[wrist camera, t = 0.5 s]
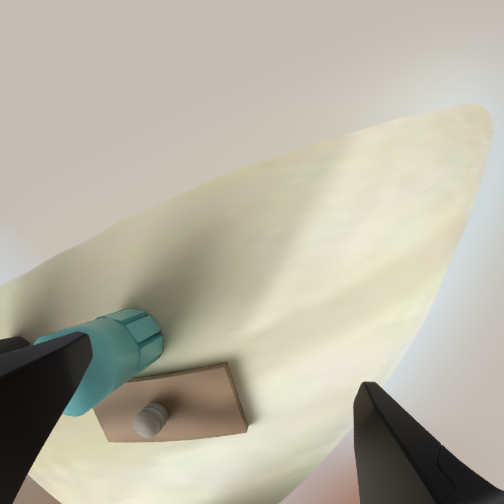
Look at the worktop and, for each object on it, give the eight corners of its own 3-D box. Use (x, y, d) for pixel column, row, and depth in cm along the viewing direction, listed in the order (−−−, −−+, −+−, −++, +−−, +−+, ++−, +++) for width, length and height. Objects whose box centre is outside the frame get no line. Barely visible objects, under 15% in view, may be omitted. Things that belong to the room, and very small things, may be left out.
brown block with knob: (248, 426, 26) (242, 450, 21) (113, 437, 27) (94, 455, 23) (226, 362, 26) (216, 380, 22) (90, 383, 27) (67, 397, 23)
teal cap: (135, 374, 27) (64, 426, 15) (102, 328, 27) (19, 358, 15) (174, 346, 27) (108, 397, 15) (139, 297, 27) (55, 318, 15)
